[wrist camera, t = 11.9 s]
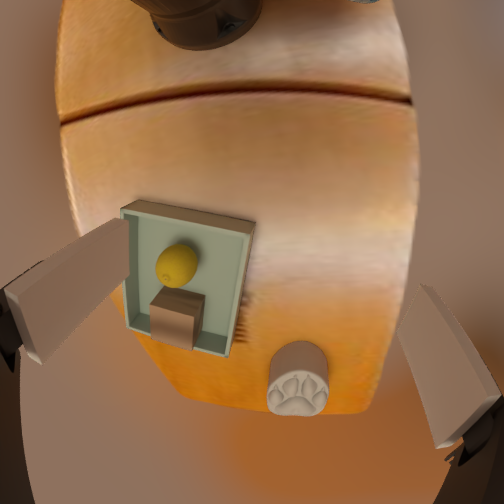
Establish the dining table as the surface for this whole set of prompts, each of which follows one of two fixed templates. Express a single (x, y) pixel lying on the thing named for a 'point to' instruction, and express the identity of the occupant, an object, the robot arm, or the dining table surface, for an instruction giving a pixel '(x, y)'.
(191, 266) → the lemon
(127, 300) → the box
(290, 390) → the lumpy-topped squat cylinder
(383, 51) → the dining table surface
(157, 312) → the walnut block
